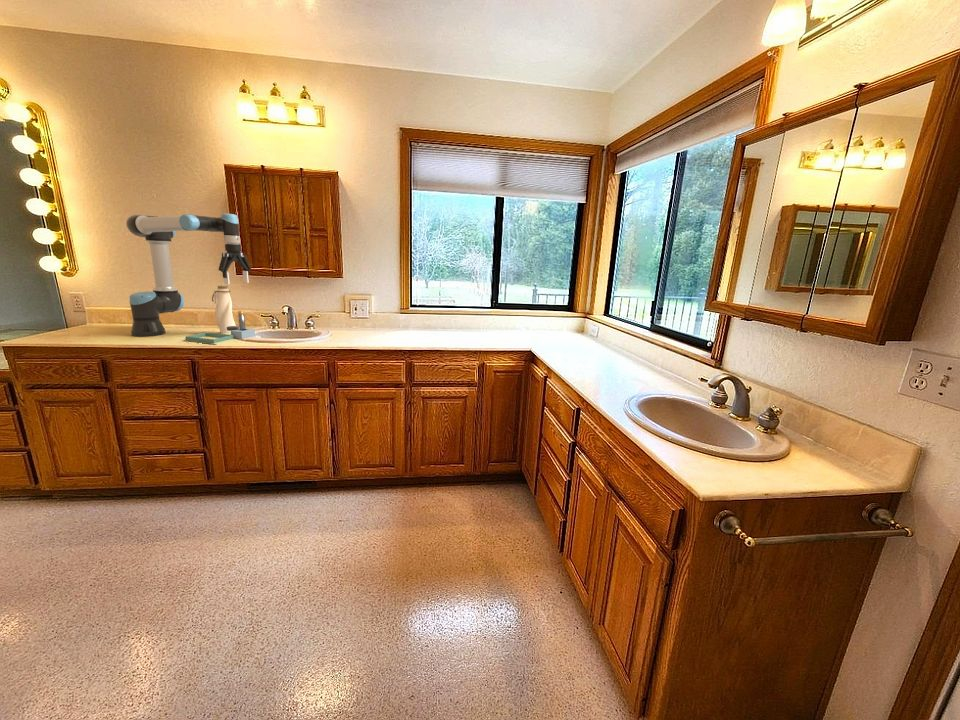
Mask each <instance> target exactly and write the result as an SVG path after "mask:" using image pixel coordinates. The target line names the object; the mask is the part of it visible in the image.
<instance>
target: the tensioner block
mask: <svg viewBox="0 0 960 720" xmlns="http://www.w3.org/2000/svg"><path fill="white" fill-rule="evenodd" d="M227 330H228V331H231V333H230V335H233V337H234V339H238V340H245V339H248V338H253V337H256V332H255V331H256V330H255V328H251V327H250V328H247V327H246V330H244V331H241V330H240V328H239V326H238V325H236V326H228V327H227Z"/></svg>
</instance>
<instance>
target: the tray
mask: <svg viewBox="0 0 960 720" xmlns="http://www.w3.org/2000/svg"><path fill="white" fill-rule="evenodd" d="M204 337H210V338H204ZM211 337H212V338H211ZM213 338H214V339H213ZM184 339H185V341H189V342H197V343H196V344H199V343H202V344H201V345H209V346H217V345H218V344H217V343H222V342H225V341H230V340H234V339H235V338H234V337H233V335H231V334H229V333H228V334H223V333H218V332H209V331H208V332H205V331H204V332H200V333H197V334H195V333H194V334H192V335H191V334H190V335H187V336H185V337H184ZM189 342H188V343H189Z"/></svg>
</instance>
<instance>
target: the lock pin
mask: <svg viewBox="0 0 960 720" xmlns="http://www.w3.org/2000/svg"><path fill="white" fill-rule="evenodd" d="M237 316H238V317H237V318H238V325H239V329H240V330H241V331H244V330H246V328H247V327H246V319H245V311H244V310H239V311H237Z"/></svg>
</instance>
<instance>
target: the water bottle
mask: <svg viewBox="0 0 960 720" xmlns="http://www.w3.org/2000/svg"><path fill="white" fill-rule="evenodd" d="M230 292H231V290H230V289H229V288H228V285H217V290H214V291H213V294H212V296H211V302H214V305H215V309H214V311H215V312H214V314H215V316H214V317H215V321H216V325H217V327H218V329H219V332H220V333H219V334H228V335H229V334H231V331H228V330H227V327H228V326H237V325H236V322H235V320H234V317H233V316H234V315H233V302H232V297H231V295H230Z"/></svg>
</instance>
